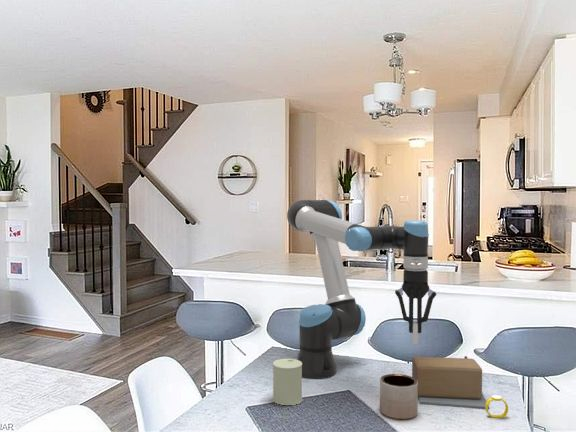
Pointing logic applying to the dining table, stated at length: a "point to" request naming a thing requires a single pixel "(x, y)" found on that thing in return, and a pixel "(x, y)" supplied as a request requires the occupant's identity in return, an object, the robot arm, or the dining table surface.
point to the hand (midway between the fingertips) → (414, 342)
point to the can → (287, 381)
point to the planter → (398, 396)
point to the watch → (496, 398)
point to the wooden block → (447, 377)
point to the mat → (454, 402)
